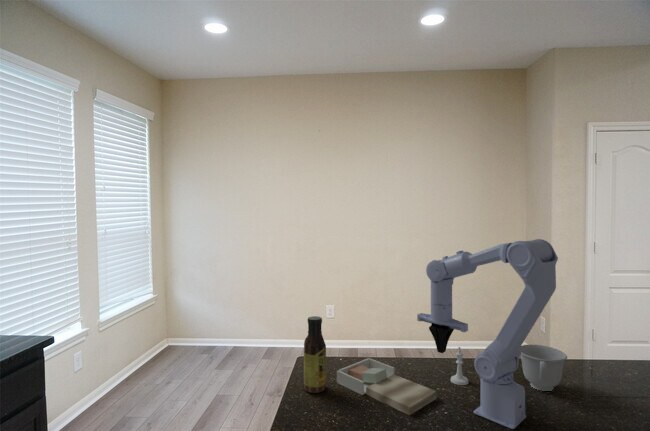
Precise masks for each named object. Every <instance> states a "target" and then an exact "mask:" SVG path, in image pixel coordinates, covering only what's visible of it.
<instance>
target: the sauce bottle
mask: <svg viewBox="0 0 650 431" xmlns="http://www.w3.org/2000/svg"><path fill="white" fill-rule="evenodd" d="M322 323H323V318H322V317H320V316H317V315H316V316H309V317H308V318H307V324H308V326H307V327H308V328H307V336H306V337H305V339H304V344H303V388H304V390H305V391H306V392H308V393H311V394H318V393H322V392H323V391H325V389H326V383H327V345H326V343H325V342H326V341H325V339H324V336H323V334H322Z"/></svg>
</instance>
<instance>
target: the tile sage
mask: <svg viewBox="0 0 650 431" xmlns="http://www.w3.org/2000/svg"><path fill="white" fill-rule="evenodd" d="M386 378H387V373H386V369H381V368H371V369H369V370H366V371H364V372H362V379H363V382H368V383H378V382H380V381H382V380H384V379H386Z"/></svg>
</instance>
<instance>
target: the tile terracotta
mask: <svg viewBox="0 0 650 431" xmlns="http://www.w3.org/2000/svg"><path fill="white" fill-rule="evenodd" d="M369 369H370V368H367V367H365V366H362V365H358V366H356V367H353V368H351V369H349V375H350V376H352V377H355V378H357V379H359V380H361V381H363V379H362V372H364V371H366V370H369Z"/></svg>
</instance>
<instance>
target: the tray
mask: <svg viewBox="0 0 650 431" xmlns="http://www.w3.org/2000/svg"><path fill="white" fill-rule="evenodd" d="M358 365H362V366H365V367H367V368H370V369H371V368H381V369H386V373H387V377H389V376H391V375H393V374H394V375H395V367H393V366H392V365H389V364H386V363H383V362H381V361H378V360H375V359H373V358H370V357H367V358H365V359H362V360H360V361H358V362H355V363H353V364H350V365H348V366H345V367H343V368H340V369H338V370H336V384H338V385H341V386H342V387H345V388H347V389H348V390H350V391H353V392H355V393H357V394H359V395H361V396H364V395H365V394H366V387H368V386H370V385H372V384H374V383H368V382H363V381H361V380H359V379H357V378H355V377H352V376H350V375H349V369H351V368H353V367H356V366H358Z"/></svg>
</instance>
